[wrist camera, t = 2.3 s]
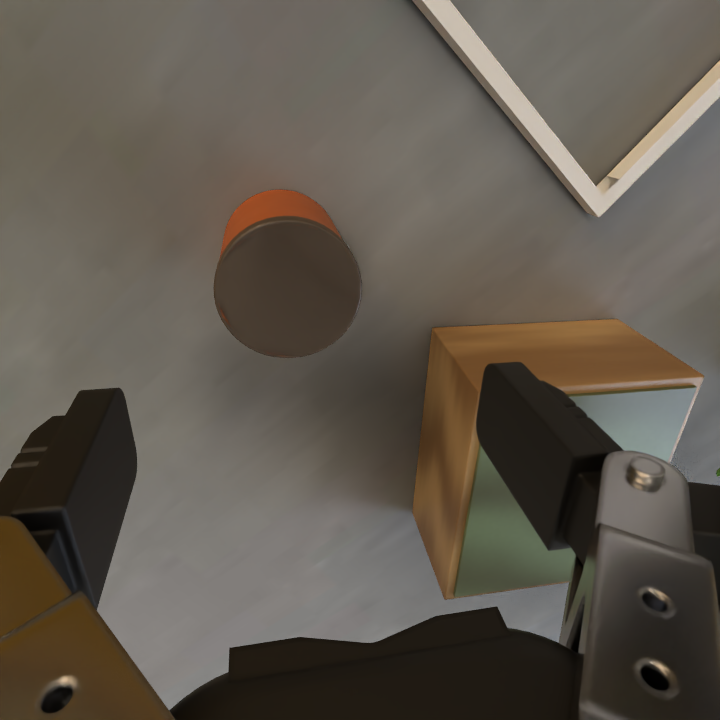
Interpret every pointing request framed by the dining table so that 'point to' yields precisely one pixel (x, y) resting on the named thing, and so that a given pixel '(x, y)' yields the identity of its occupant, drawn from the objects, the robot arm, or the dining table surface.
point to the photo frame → (539, 134)
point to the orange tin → (285, 276)
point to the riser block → (475, 470)
